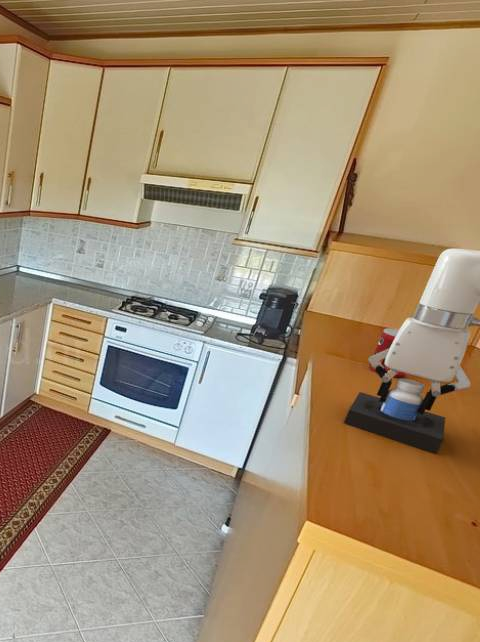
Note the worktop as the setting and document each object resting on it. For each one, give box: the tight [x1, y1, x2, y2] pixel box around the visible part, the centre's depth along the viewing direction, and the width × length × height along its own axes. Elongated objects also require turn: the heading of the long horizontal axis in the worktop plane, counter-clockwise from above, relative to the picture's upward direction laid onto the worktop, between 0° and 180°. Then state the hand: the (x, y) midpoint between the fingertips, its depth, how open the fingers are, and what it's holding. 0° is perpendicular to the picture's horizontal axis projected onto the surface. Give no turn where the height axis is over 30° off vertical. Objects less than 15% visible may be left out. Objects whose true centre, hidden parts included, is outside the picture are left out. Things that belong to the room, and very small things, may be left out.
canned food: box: [369, 327, 407, 379], centre depth 127 cm, size 8×8×11 cm
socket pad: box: [343, 391, 446, 455], centre depth 97 cm, size 14×14×3 cm
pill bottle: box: [380, 378, 425, 421], centre depth 96 cm, size 6×5×10 cm
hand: (401, 405), depth 96 cm, fingers closed on pill bottle, 5 cm apart
